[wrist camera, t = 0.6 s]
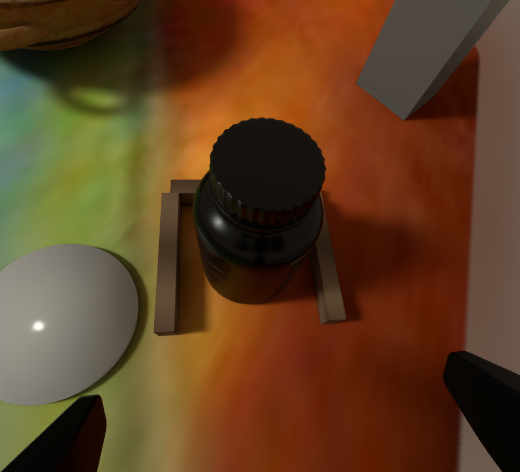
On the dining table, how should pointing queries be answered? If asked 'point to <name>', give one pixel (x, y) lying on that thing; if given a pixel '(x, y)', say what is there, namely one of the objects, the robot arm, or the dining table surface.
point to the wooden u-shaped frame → (170, 264)
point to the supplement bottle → (258, 208)
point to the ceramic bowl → (58, 22)
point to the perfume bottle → (423, 49)
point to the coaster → (62, 322)
